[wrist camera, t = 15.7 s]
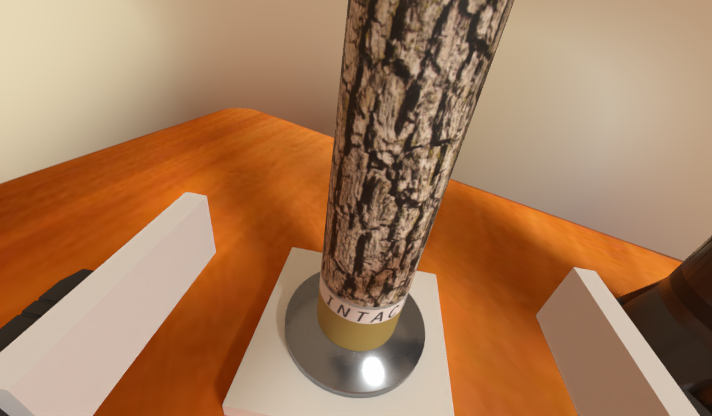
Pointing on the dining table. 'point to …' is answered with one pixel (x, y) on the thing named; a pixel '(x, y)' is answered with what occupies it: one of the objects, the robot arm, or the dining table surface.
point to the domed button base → (340, 357)
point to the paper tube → (396, 150)
